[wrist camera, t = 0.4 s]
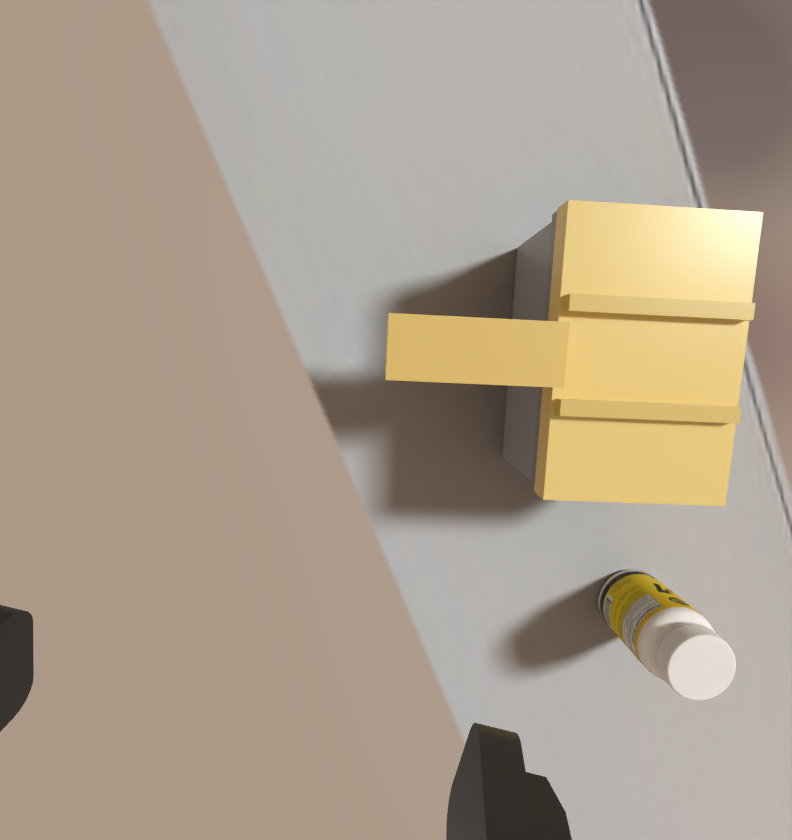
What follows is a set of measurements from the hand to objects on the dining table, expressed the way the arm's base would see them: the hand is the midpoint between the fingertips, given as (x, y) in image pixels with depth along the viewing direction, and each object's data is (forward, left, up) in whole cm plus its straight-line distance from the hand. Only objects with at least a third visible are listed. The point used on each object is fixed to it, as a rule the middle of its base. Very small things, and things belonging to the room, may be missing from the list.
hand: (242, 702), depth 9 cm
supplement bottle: (+10, +21, -26) cm, 35 cm away
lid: (-7, +12, -18) cm, 22 cm away
